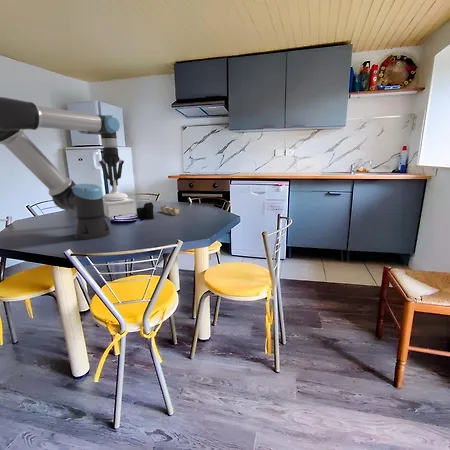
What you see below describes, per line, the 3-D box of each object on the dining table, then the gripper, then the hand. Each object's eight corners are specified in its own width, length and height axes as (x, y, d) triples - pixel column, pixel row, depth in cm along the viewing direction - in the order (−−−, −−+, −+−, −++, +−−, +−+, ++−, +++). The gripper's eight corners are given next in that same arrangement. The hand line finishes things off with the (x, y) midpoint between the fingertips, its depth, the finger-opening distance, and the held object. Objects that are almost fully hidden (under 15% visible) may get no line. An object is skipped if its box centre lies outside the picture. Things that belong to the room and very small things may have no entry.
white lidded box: (125, 209, 193) (123, 186, 189) (136, 213, 179) (134, 188, 175) (99, 213, 182) (96, 188, 178) (108, 217, 168) (105, 191, 165)
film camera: (137, 215, 173) (136, 201, 171) (153, 214, 175) (152, 200, 173) (137, 221, 159) (136, 205, 156) (155, 219, 161) (153, 204, 159)
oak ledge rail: (179, 215, 173) (178, 207, 171) (175, 215, 171) (175, 208, 170) (164, 211, 186) (163, 204, 185) (161, 211, 184) (160, 204, 183)
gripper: (119, 147, 155) (123, 190, 161) (94, 147, 146) (100, 192, 152) (125, 147, 150) (129, 191, 155) (99, 146, 141) (105, 193, 147)
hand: (114, 191), depth 154 cm, fingers closed
